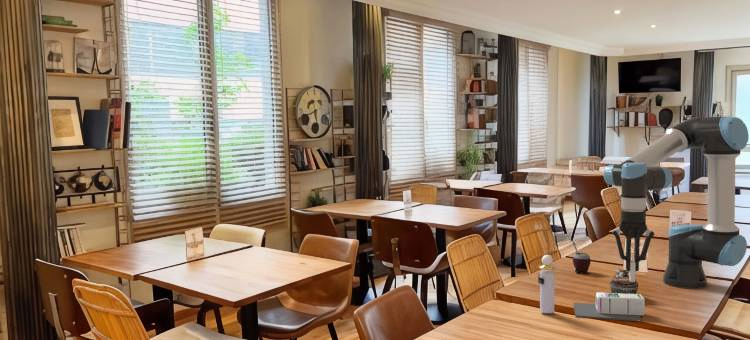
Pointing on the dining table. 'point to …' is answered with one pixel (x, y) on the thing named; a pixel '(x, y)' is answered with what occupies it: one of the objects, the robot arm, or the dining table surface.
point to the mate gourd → (581, 261)
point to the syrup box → (620, 303)
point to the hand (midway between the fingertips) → (632, 280)
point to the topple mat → (591, 312)
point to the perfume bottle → (546, 285)
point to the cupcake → (623, 283)
